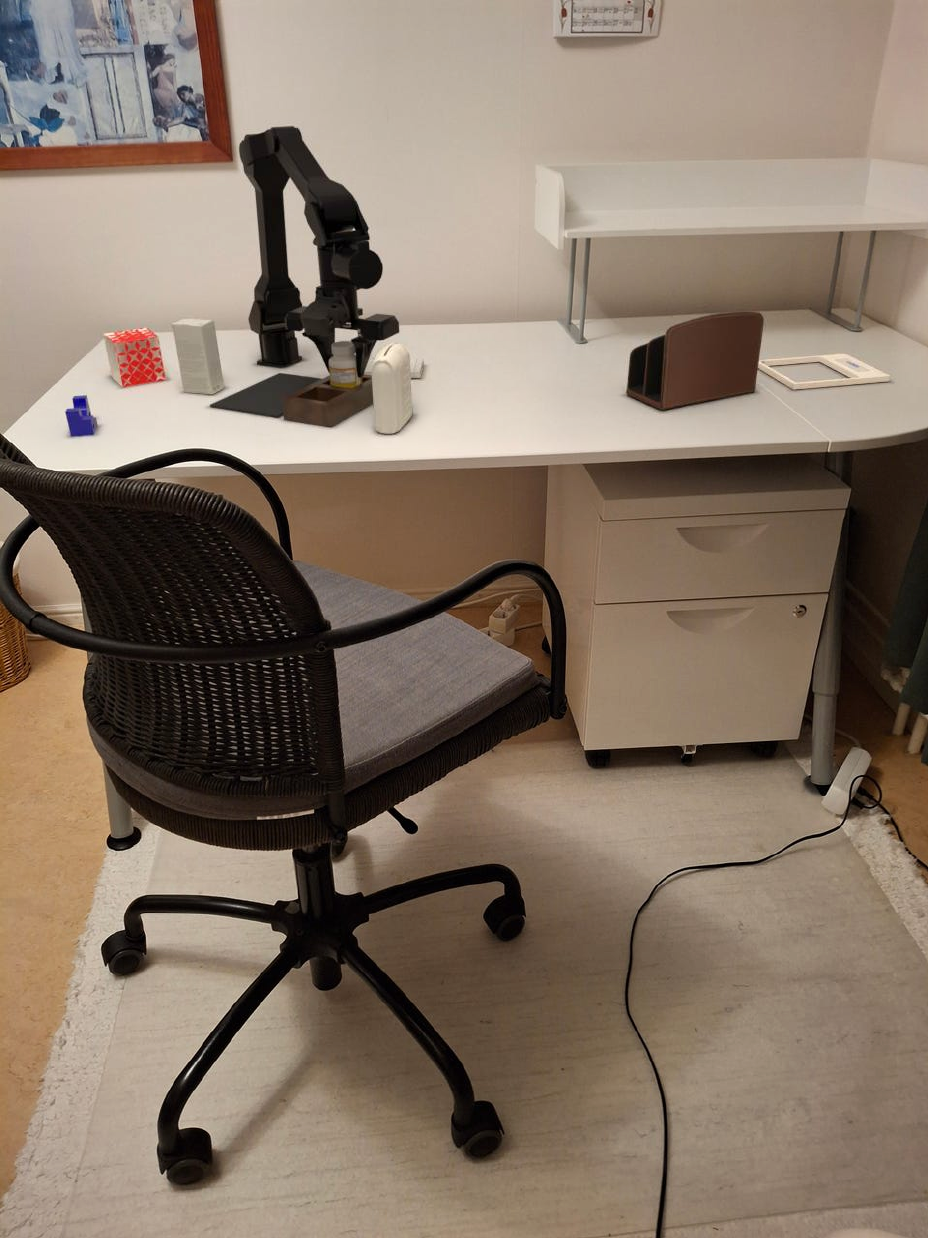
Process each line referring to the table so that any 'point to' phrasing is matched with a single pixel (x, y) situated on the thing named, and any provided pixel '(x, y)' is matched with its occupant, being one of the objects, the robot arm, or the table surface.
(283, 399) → the bottle holder
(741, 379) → the letter holder
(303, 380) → the desk mat
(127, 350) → the puzzle cube
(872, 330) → the table surface
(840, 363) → the photo frame
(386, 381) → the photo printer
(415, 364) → the hard drive
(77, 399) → the cable holder
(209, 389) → the cosmetic box
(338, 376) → the supplement bottle
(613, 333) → the table surface
